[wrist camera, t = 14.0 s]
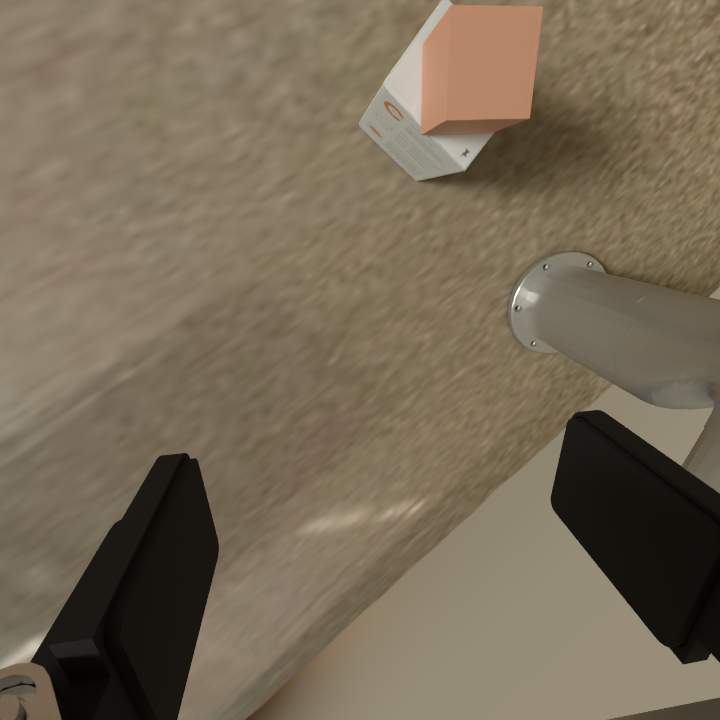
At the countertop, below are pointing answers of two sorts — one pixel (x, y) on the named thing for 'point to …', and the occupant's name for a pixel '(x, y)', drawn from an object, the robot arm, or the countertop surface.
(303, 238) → the countertop surface
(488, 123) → the terracotta block
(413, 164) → the small box
